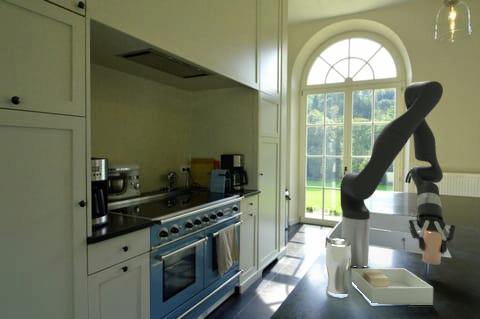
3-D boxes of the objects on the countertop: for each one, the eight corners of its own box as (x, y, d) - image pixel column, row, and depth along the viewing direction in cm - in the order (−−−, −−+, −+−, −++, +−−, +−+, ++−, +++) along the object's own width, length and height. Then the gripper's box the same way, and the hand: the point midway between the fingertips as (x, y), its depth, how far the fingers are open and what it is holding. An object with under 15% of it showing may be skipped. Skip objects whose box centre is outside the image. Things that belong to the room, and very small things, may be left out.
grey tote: (371, 306, 79) (372, 288, 79) (351, 284, 92) (351, 268, 92) (432, 305, 80) (433, 287, 80) (404, 284, 93) (404, 268, 93)
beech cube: (387, 295, 83) (388, 277, 83) (370, 295, 83) (370, 278, 83) (378, 287, 88) (378, 270, 88) (361, 287, 88) (362, 270, 88)
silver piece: (330, 285, 91) (331, 237, 90) (353, 292, 87) (355, 242, 86) (320, 294, 86) (322, 242, 85) (345, 302, 81) (346, 248, 81)
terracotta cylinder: (424, 263, 97) (426, 233, 97) (420, 258, 102) (422, 229, 101) (442, 265, 95) (444, 234, 95) (437, 260, 100) (439, 230, 100)
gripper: (407, 199, 108) (409, 241, 97) (455, 204, 102) (462, 249, 91) (405, 211, 113) (406, 252, 102) (451, 216, 107) (457, 260, 96)
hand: (433, 250), depth 97 cm, fingers closed on terracotta cylinder, 5 cm apart
